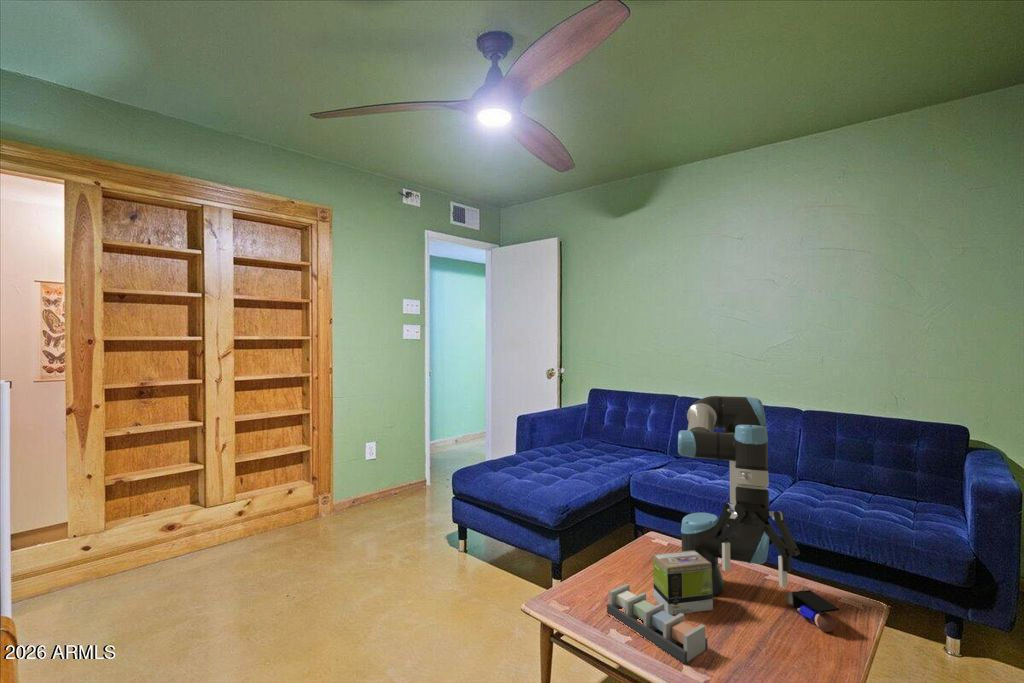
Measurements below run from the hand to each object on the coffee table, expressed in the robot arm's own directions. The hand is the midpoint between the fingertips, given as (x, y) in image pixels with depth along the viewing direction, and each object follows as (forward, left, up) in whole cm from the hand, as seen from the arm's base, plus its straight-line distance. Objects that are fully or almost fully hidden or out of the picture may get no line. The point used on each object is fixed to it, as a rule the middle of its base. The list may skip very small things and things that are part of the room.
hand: (753, 577), depth 115 cm
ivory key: (+4, -37, -22) cm, 43 cm away
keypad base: (+4, -27, -25) cm, 37 cm away
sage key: (+4, -30, -22) cm, 37 cm away
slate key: (+4, -23, -22) cm, 32 cm away
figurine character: (-39, -4, -25) cm, 47 cm away
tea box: (-15, -30, -25) cm, 42 cm away
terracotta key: (+4, -17, -22) cm, 28 cm away
